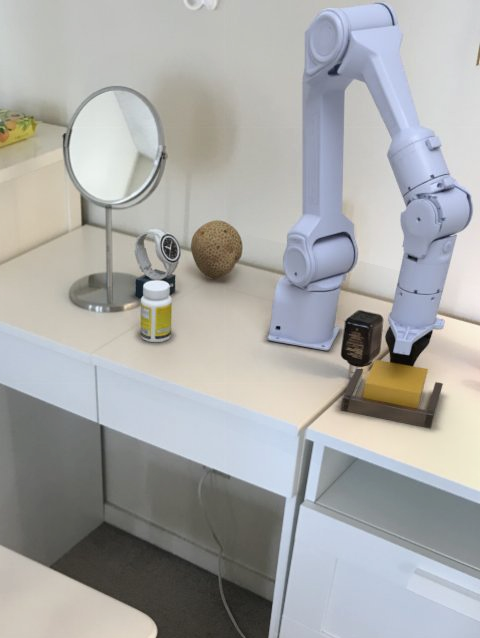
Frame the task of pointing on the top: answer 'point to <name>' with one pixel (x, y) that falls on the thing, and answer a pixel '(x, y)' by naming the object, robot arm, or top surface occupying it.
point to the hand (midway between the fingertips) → (398, 378)
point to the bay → (389, 405)
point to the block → (395, 383)
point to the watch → (167, 255)
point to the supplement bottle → (156, 311)
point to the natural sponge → (216, 248)
